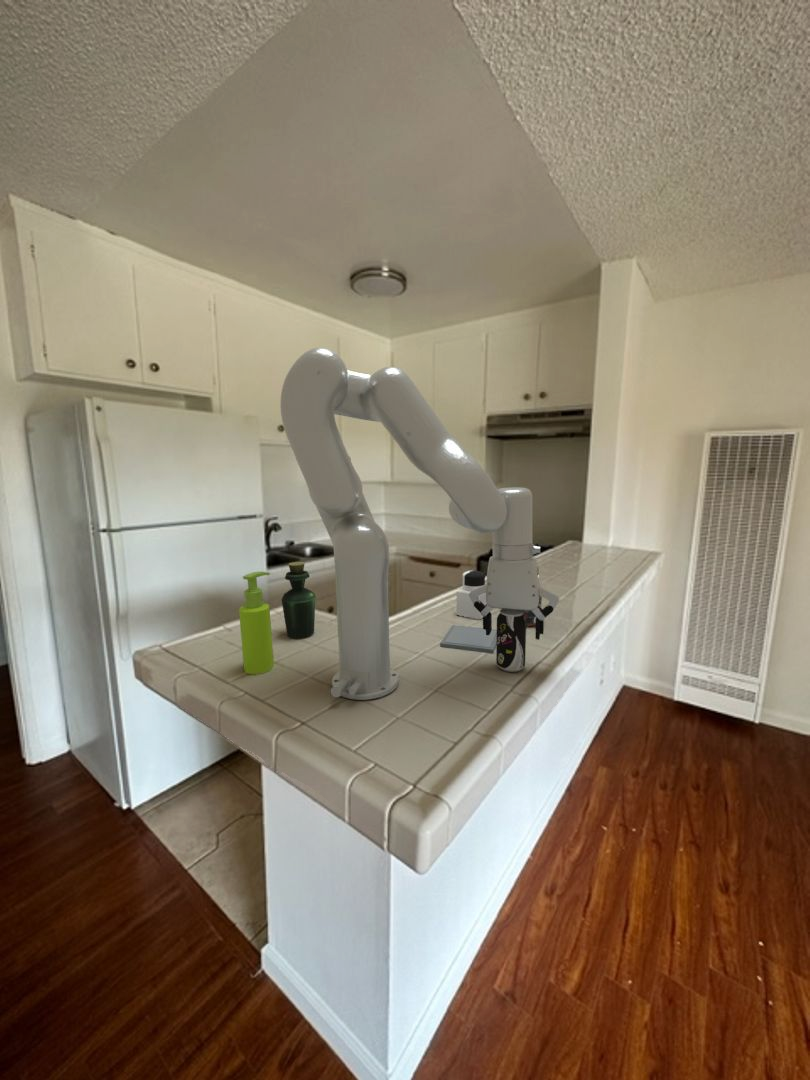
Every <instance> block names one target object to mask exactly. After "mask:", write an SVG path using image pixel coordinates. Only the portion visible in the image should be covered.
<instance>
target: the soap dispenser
mask: <svg viewBox="0 0 810 1080" xmlns="http://www.w3.org/2000/svg"><path fill="white" fill-rule="evenodd" d="M270 574H271V572H267V571H254V572H250V573H248V574H245V575H243V576H242V579H243V580H247V589H246V590H244V592H243V593H244V594H243V596H244V603H245V604H244V605H242V606H240V607H239V609H238V615H239V626H240V627H239V628H240V636H241V650H242V660H243V661H242V663H243V671H244V672H245V673H246V674H249V675H260V674H263V673H264V674H265V673H267V672H269V671H271V670H272V669H273V668H274V666H275V663H274V649H273V638H272V637H273V635H272V622H271V609H270V604H268V603H264V601H263V590H262V589H261V588H260V587H258V581H257V580H258V579H257V578H258V577H263V576H269V575H270Z"/></svg>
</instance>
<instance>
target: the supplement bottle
mask: <svg viewBox="0 0 810 1080" xmlns="http://www.w3.org/2000/svg"><path fill="white" fill-rule="evenodd" d="M542 598H543V597H542V596H540V601H539V603H538V604H539V605H540V606H541V607H542ZM522 611H523V615H524V616H525V618H526V627H531V628H532V627H536V615H535V614H534V613H533V612H532V611H531V610H522Z"/></svg>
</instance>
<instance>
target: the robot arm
mask: <svg viewBox="0 0 810 1080" xmlns="http://www.w3.org/2000/svg"><path fill="white" fill-rule="evenodd" d="M280 415H281V421H282V425H283V429H284V432H285V435H286V438H287V441H288V442H289V444H290V445H289V446H290V447H291V449H292V452H293V454H294V457H295V460H296V462H297V464H298V466H299V470H300V472H301V474H302V476H303V478H304V481H305V483H306V486H307V489H308V493H309V497H310V499H311V502H312V503H313V505H315V507H316V510H317V511H318V513H319V516H320V518H321V520H322V523H323V525H324V528H325V529H326V531H327V534H328V535H329V538H330V540H331V543H332V546H333V547H332V548H333V557H334V575H335V576H334V577H335V603H336V617H337V618H336V619H337V637H338V638H337V641H338V642H337V643H338V659H339V660H338V662H339V663H338V664H339V670H338V671H337V672H336V673H335V674H334V675H333V677H332V679H331V689H330V694H331V696H333V697H334V698H339V697H342V698H345V699H350V700H355V701H367V700H368V701H369V700H373V699H378V698H383V697H385V696H387V695H389V694H390V693H392V692H393V691H394V690H395V689H397V687H398V685H399V674H398V673H397V671H396V670H395V669H393V668H391V659H390V656H391V655H390V654H391V651H390V649H391V648H390V619H389V617H390V613H389V612H390V611H389V569H390V568H389V565H390V547H389V542H388V541H389V540H388V539H387V535H386V534H385V532H384V530H383V529H382V527H381V526H380V525H379V524H377V522H376V521H375V519H374V516H373V514H372V512H371V509H370V508H369V504H368V502H367V500H366V498H365V495H364V493H363V484H362V481H361V478H360V476H359V474H358V473H357V471H356V468H355V467H354V465H353V463H352V460H351V458H350V455H349V454H348V452H347V448H346V447H345V445H344V442H343V440H342V439H343V438H342V436H341V433H340V431H339V428H338V425H337V423H336V419H335V417H336V416H341V417H342V416H343V417H346V418H347V417H348V418H352V419H358V420H363V421H370V422H377V423H381V424H382V425H383V427H384V428H385V430H386V431H387V432H388V434H390V436H391V437H392V439H393V440H394V441H395V443H397V445H398V447H399V448H400V449H401V451H402V452H403V454H404V455H405V457H406V458H407V459H408V461H409V462H410V463H411V464H413V466H414V467H416V468H417V470H418V471H420V472H421V473H423V474H424V475H426V476H427V477H429V478H430V479H432V480H433V481H434V482H435V483H437V484H438V486H440V487H441V488H442V490H443V491H444V492H445V493H446V494H447V495H448V497H449V498H450V501H449V503H448V505H449V506H448V513H449V515H450V517H451V519H452V520H453V521H454V522H455V523H456V524H457V525H459V526H461V527H464V528H466V529H469V530H472V531H474V532H476V533H480V534H491V533H492V534H491V535H492V540H491V541H492V556H490V557H489V559H488V565H487V574H486V583H485V585H484V586H482V587H480V588H478V589H476V590H473V591H471V592H470V593H469V597H470V599H471V601H472V603H473V604H474V607H475V608H476V609H477V610H478V611H479V612H480V613H481V615H482V616H483V618H482V628H483V629H484V630H486V635H490V633H491V630H492V629H493V628H492V626H493V625H492V624H493V623H492V622H493V621H492V617H493V616H492V612H491V611H492V609H499V610H501V609H512V610H531V611H532V612H533V613H534V614H535V615H536V626H535V640H536V641H537V640H538V641H540V637H541V635H544V627H545V625H544V623H545V622H544V620H545V619H546V618H547V617H548V616H550V614H552V612H554V610H555V608H556V606H557V605H558V603H559V601H560V597H559V596H558V595H556V594H555V593H553V592H551V591H549V590H547V589H545V588H543V587H541V586H540V571H539V564H538V559H537V557H535V555H536V554H541V546H539V545H535V544H534V542H533V493H532V491H531V489H529V488H527V487H512V486H511V487H502V488H501V487H500V488H498V487H497V486H496V484H495V483H494V482H493V480H492V478H491V477H490V476H489V475H488V473H487V472H486V471H485V469H484V468H483V466H482V465H481V464H480V463H479V462H478V461H477V460H476V459H475V458H474V457H473V456H472V454H470V453H469V452H468V450H466V449H465V448H464V447H463V446H462V444H461V443H460V442H459V441H458V440H456V439H455V438H454V436H452V434H451V433H450V432H449V431H448V429H447V428H446V427H445V426H444V424H443V422H442V421H441V420H440V418H439V416H437V414H436V412H435V411H434V409H432V407H431V406H430V404H429V403H428V401H427V400H426V399H425V397H424V395H423V394H422V393H421V391H420V390H419V388H417V386H416V385H415V382H413V380H412V379H411V377H410V376H409V375H408V374H407V373H406V372H405V371H404V370H402V369H401V368H400V367H395V366H386V367H385V366H384V367H383V368H380V369H378V370H376V371H375V372H373V374H368V373H364V372H363V373H361V372H358V371H353V370H349V369H348V368H347V366H346V364H345V362H344V360H343V359H342V358H341V356H339V354H338V353H336V352H335V351H334V350H331V349H329V348H325V347H315V348H311V349H309V350H307V351H305V352H304V353H303V354H301V356H299V357H298V359H296V361H295V362H294V363H293V364H292V366H291V367H290V368H289V371H288V372H287V374H286V376H285V378H284V380H283V384H282V388H281V394H280ZM335 415H336V416H335ZM484 593H486V603H487V604H486V605H484V604H483V603H482V602H481V601H480V600H479V598H478V596H479V595H482V594H484ZM540 596H542V598H544V599H546V600H548V601H549V602H548V604H546V606H544V607H543V608H542V605H541V606H540V605H539V604H538V603H539V601H540Z"/></svg>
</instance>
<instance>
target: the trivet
mask: <svg viewBox="0 0 810 1080" xmlns="http://www.w3.org/2000/svg"><path fill="white" fill-rule="evenodd" d="M496 639H497V629H493V628H492V630H491V633H490V635H486V630H484V629H483V627H482V628H481V627H473V626H464V625H456V624H452V625H451V627H450V628H449V629H448V630H447V633H446V634H445V635H444V637H443V638H442V640H441V642H440V643H439V647H440V648H442V647H443V648H449V649H456V650H457V649H458V650H465V651H473V652H481V653H490V654H494V652H495V651H496V650H495V649H496Z"/></svg>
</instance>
